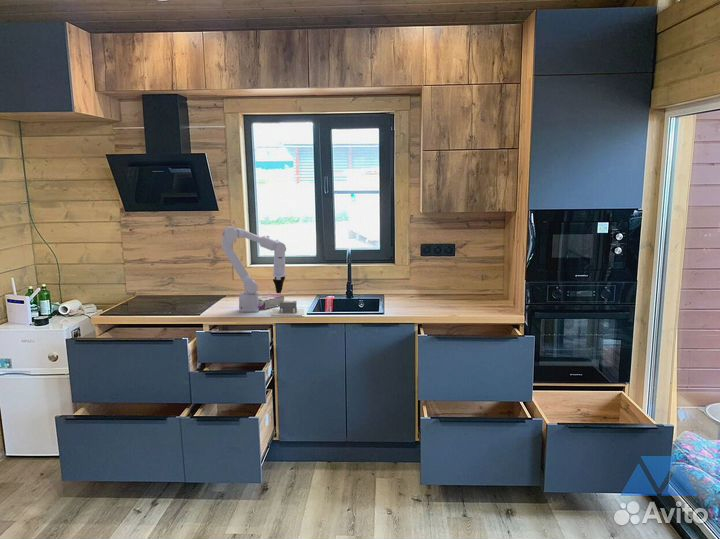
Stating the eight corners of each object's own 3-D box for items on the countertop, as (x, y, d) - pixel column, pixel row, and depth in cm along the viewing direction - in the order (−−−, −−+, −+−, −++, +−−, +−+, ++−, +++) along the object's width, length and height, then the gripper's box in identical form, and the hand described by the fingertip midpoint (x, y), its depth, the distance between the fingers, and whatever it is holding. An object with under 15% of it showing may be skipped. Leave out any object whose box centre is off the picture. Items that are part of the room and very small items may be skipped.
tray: (270, 316, 264) (270, 309, 264) (272, 310, 278) (272, 304, 277) (303, 316, 265) (304, 309, 265) (304, 310, 279) (304, 304, 279)
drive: (279, 312, 269) (279, 302, 268) (280, 310, 273) (280, 300, 273) (296, 312, 270) (296, 302, 269) (296, 310, 274) (296, 300, 273)
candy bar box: (268, 302, 298) (247, 307, 284) (268, 293, 297) (247, 297, 283) (284, 305, 292) (264, 309, 278) (284, 296, 292) (264, 300, 278)
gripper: (286, 267, 270) (286, 294, 272) (288, 263, 284) (287, 289, 286) (272, 267, 269) (272, 294, 271) (274, 263, 284) (274, 289, 285)
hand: (279, 291), depth 279 cm, fingers open, 7 cm apart
